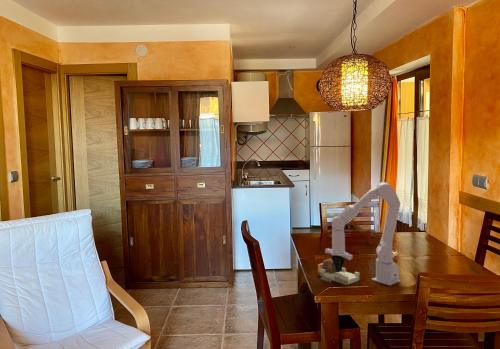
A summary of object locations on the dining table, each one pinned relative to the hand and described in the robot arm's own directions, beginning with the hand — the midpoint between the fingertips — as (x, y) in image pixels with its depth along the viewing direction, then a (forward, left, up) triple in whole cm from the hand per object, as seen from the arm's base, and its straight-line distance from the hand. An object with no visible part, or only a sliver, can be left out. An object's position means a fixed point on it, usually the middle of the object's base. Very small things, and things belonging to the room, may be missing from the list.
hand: (338, 271), depth 179 cm
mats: (0, 0, -3) cm, 3 cm away
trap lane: (0, 0, -3) cm, 3 cm away
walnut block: (+5, 0, -1) cm, 5 cm away
